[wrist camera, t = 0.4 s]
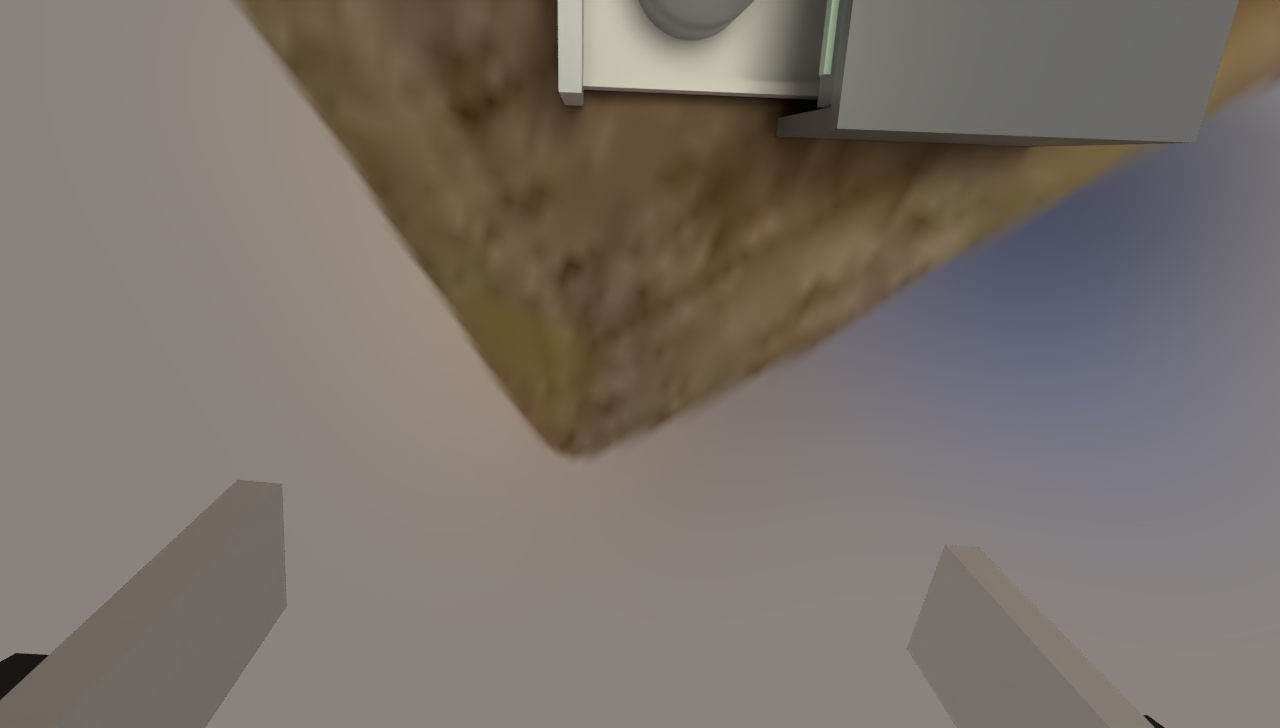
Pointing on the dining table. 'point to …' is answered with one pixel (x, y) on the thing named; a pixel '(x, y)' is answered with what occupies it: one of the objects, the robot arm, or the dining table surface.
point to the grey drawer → (691, 47)
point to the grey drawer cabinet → (1016, 71)
